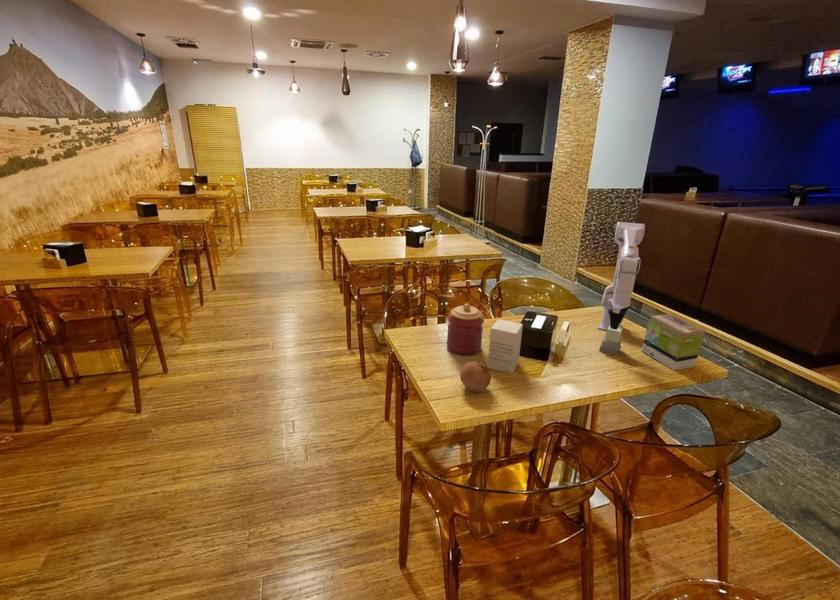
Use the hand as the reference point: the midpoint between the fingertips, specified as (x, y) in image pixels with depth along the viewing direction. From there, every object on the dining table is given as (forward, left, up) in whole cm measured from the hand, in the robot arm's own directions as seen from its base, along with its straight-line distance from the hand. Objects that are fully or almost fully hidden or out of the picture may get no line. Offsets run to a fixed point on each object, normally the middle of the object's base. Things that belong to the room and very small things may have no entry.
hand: (615, 325), depth 154 cm
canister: (+32, -45, -11) cm, 56 cm away
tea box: (-6, +18, -11) cm, 22 cm away
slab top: (0, 0, -8) cm, 8 cm away
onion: (+54, -29, -11) cm, 62 cm away
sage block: (0, 0, -6) cm, 6 cm away
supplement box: (+35, -28, -11) cm, 46 cm away
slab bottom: (0, 0, -11) cm, 11 cm away
